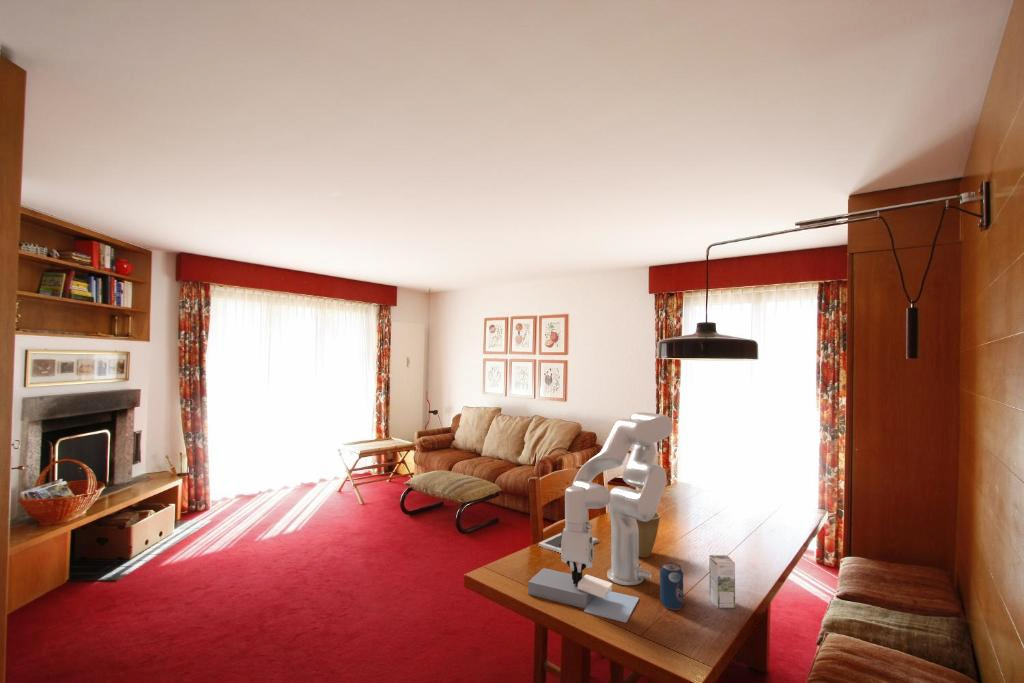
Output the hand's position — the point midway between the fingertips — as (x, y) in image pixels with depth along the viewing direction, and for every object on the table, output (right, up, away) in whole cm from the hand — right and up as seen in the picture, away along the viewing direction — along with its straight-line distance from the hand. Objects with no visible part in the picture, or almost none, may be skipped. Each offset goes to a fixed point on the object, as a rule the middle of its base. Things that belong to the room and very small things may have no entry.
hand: (577, 582), depth 155 cm
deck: (-4, -5, +2) cm, 7 cm away
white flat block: (+5, 0, -3) cm, 6 cm away
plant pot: (+30, -6, +35) cm, 46 cm away
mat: (+10, -4, -6) cm, 13 cm away
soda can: (+29, -4, -6) cm, 30 cm away
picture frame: (+3, -8, +45) cm, 46 cm away
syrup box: (+45, -4, -5) cm, 46 cm away
